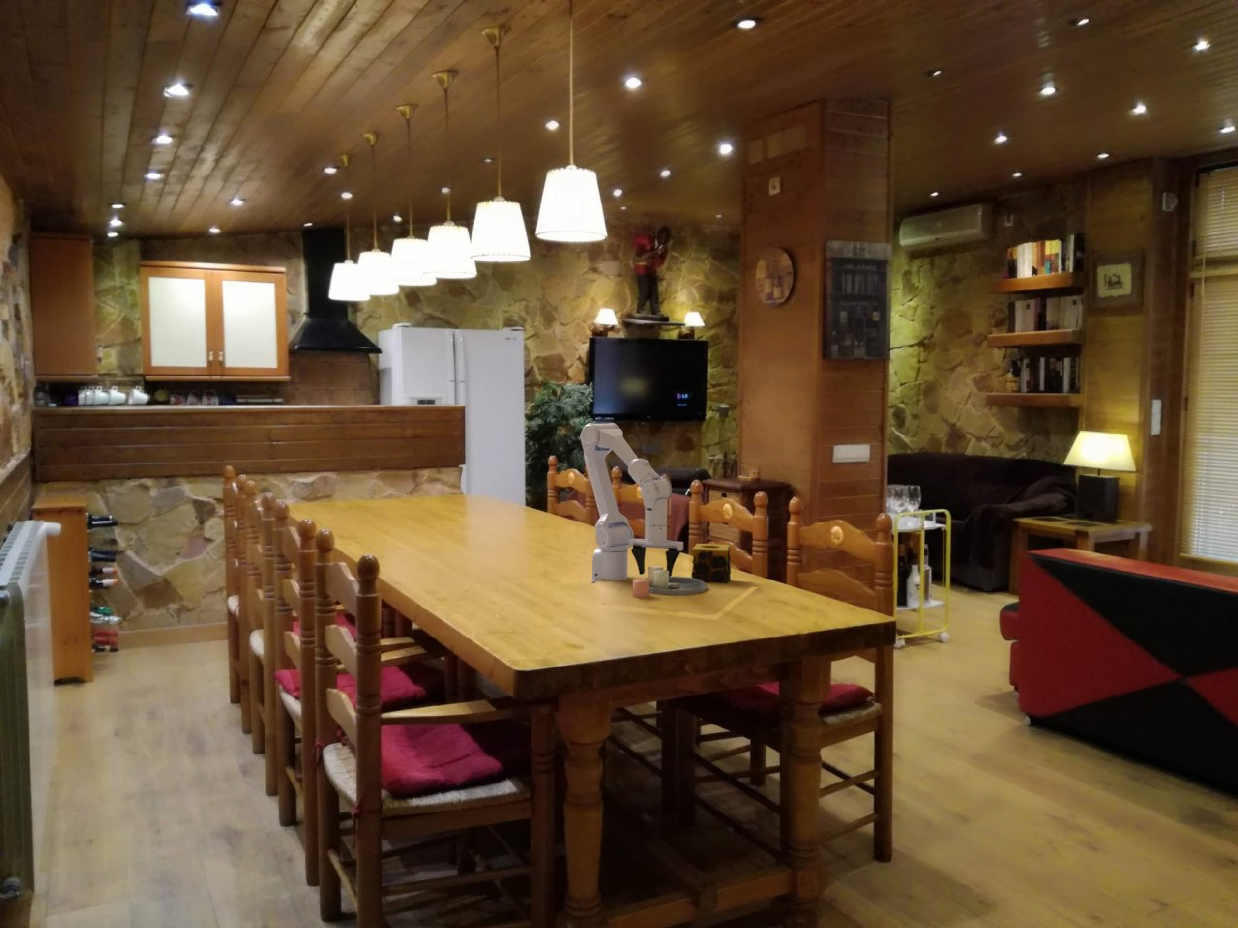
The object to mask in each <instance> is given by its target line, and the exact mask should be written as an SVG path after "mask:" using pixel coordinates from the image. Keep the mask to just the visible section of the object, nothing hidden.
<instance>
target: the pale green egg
mask: <svg viewBox="0 0 1238 928" xmlns="http://www.w3.org/2000/svg"><path fill="white" fill-rule="evenodd" d="M653 588H659V589H669V571H667V569H663V570H655V571H654V578H653Z"/></svg>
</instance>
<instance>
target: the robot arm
mask: <svg viewBox="0 0 1238 928" xmlns="http://www.w3.org/2000/svg"><path fill="white" fill-rule="evenodd" d="M579 438H580V441H581V445H582V448H583V458H584V463H585V465H586V470H587V474H588V477H589V481H590V486H591V489H592V492H593V496H594V501H595V503H596V507H597V511H598V515H599V518H598V520H597V521H596V523H595V524H594V529H595V542H596V544H597V546H598V548H595V550H594V551H593V553H592V557H591V558H592V559H591V580H590V582H591V583H596V582H598V581H601V580H604V581H605V580H606V581H613V582H614V581H617V582H618V581H625V580H628V562H629V560H628V557H629V556H628V554H629V553H628V550H629V549H630V548H631V553H632V555H633V557H634V559H635V562H636V563H637V568H638V573H639V575H640V576H642V575H645V573H646V552H647V549H663V550H666V551H665V557H666V558H665V559H666V570H667V571H669V577H673V570H674V567H675V563H676V562H677V559H678V557H679V555H680V553H681V551H683V550H684V542H683V541H677V540H676V541H673V540H668V536H667V535H668V529H667V528H668V525H667V524H668V500H669V498H670V497H671V496H672V492H673V488H672V487H673V486H672V484H671V482H670V480H669V479H668V478H666V477H662V476H661V475H660V474H658V473H657V472H656V471H655V470H654V469H653V468H652V466H651V465H650V462H649V461H648V460H647V459H644V458H638V456H637V455H636V454H635V452H634V451H633V449H632V448H631V446H630V445H629V444H628V443H627V440H625V438H624V437H623V431H622V430H621V429H620V428H619V426H618V425H617V424H616V423H614V422H609V423H587V424H586V425H585V426H584V427H583V429H582V431H581V434H580V436H579ZM612 451H613V453H615V454H616V456H617V457H619V459H620V460H622V461H623V463H624V464H625V465H626V466H627V473H628V475H629V476H630V477H631V478H632V480H633V481H634V482H635V483H636V484H637V486H638V487H639V488H640V495H641V497H642V499H643V506H644V508H645V514H644V515H645V517H644V518H645V519H644V520H645V522H644V523H645V525H644V526H645V527H644V530H645V531H644V533H645V534H644V536H645V537H644V538H635V535H634V531H633V528H632V526H630V524H629V520H628V518H627V517H626V516H624V515H623V514H621V513H620V511H619V507H618V503H617V499H616V496H615V492H614V489H613V485H612V482H611V477H610V474H609V471H608V467H607V466H608V465H607V462H606V457H607V456H608V455H609V454H610V453H611V452H612Z"/></svg>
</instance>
